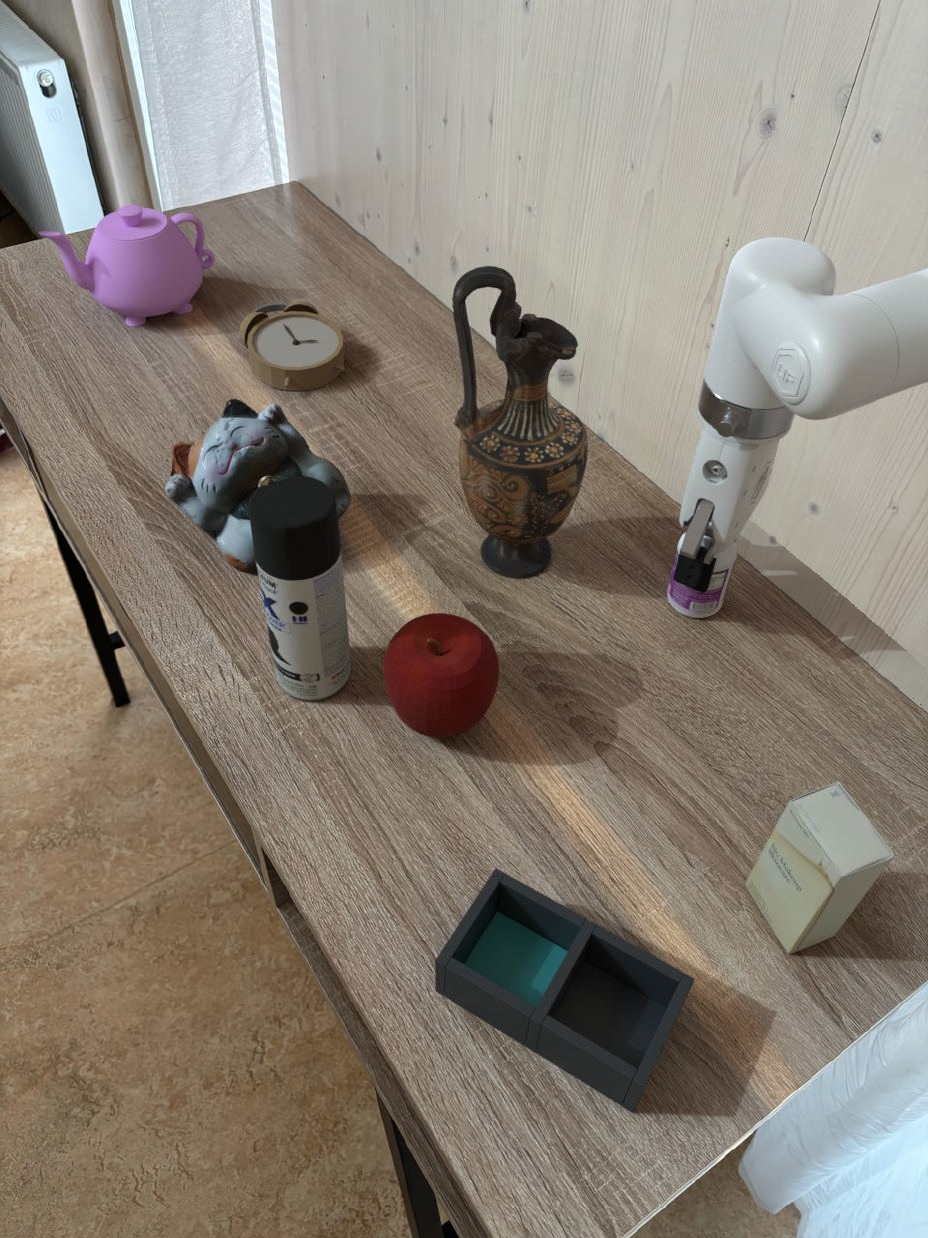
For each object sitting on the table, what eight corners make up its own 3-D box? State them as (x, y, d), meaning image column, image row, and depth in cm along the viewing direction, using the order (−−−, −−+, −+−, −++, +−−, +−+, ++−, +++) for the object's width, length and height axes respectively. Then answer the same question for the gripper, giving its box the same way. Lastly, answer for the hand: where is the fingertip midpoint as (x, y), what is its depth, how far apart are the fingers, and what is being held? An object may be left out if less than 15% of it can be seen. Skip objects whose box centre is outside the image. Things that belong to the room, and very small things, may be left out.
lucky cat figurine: (245, 600, 95) (157, 481, 88) (215, 562, 105) (135, 452, 98) (373, 509, 98) (299, 386, 90) (333, 480, 108) (263, 368, 100)
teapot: (82, 353, 122) (53, 256, 113) (51, 298, 130) (21, 203, 121) (238, 311, 129) (223, 216, 120) (199, 261, 137) (182, 169, 128)
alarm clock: (269, 382, 114) (220, 298, 121) (272, 413, 118) (224, 331, 125) (360, 356, 118) (308, 276, 124) (359, 387, 122) (309, 308, 128)
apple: (473, 660, 91) (476, 583, 84) (513, 743, 85) (520, 667, 78) (372, 688, 89) (366, 611, 81) (406, 775, 83) (403, 700, 75)
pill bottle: (681, 572, 99) (700, 496, 92) (731, 595, 97) (754, 520, 90) (655, 604, 96) (673, 528, 89) (706, 629, 94) (728, 554, 87)
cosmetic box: (742, 884, 77) (783, 798, 68) (791, 865, 78) (838, 777, 69) (789, 959, 73) (840, 878, 64) (841, 937, 74) (897, 855, 65)
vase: (574, 595, 97) (615, 314, 74) (445, 589, 97) (447, 307, 75) (572, 514, 105) (608, 237, 82) (452, 508, 105) (456, 231, 83)
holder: (681, 1008, 70) (695, 978, 67) (632, 1113, 66) (644, 1087, 62) (492, 901, 75) (495, 867, 72) (434, 991, 71) (435, 960, 67)
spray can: (267, 657, 91) (234, 485, 76) (339, 635, 93) (321, 464, 78) (288, 712, 87) (258, 542, 72) (363, 688, 89) (349, 518, 74)
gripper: (754, 476, 74) (705, 640, 87) (827, 363, 84) (774, 526, 97) (659, 441, 76) (626, 606, 89) (741, 336, 86) (700, 498, 99)
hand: (703, 563), depth 93 cm, fingers closed on pill bottle, 5 cm apart
